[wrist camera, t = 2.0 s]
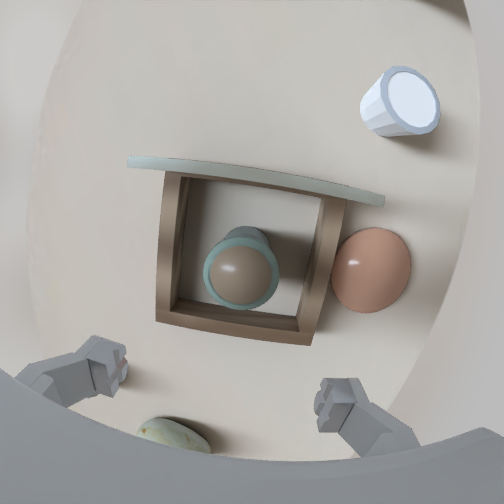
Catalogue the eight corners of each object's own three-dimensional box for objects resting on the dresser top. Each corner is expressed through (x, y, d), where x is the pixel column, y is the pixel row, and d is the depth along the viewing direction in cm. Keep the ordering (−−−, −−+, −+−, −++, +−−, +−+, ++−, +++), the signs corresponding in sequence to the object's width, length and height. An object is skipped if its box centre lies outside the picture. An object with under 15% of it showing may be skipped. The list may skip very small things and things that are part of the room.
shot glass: (416, 129, 25) (451, 121, 18) (374, 151, 26) (406, 145, 19) (387, 78, 23) (416, 58, 17) (343, 97, 24) (366, 76, 18)
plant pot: (221, 218, 28) (207, 232, 20) (278, 227, 28) (286, 245, 21) (214, 272, 30) (199, 303, 22) (268, 280, 30) (271, 315, 22)
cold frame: (178, 160, 27) (129, 149, 16) (338, 185, 27) (386, 190, 16) (165, 307, 31) (126, 363, 20) (305, 329, 31) (324, 395, 20)
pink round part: (341, 219, 28) (344, 220, 27) (415, 236, 28) (419, 237, 27) (321, 304, 30) (322, 308, 29) (392, 312, 31) (396, 316, 30)
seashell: (135, 466, 32) (126, 445, 28) (143, 432, 39) (137, 405, 35) (208, 479, 33) (214, 462, 29) (210, 444, 40) (216, 420, 37)
